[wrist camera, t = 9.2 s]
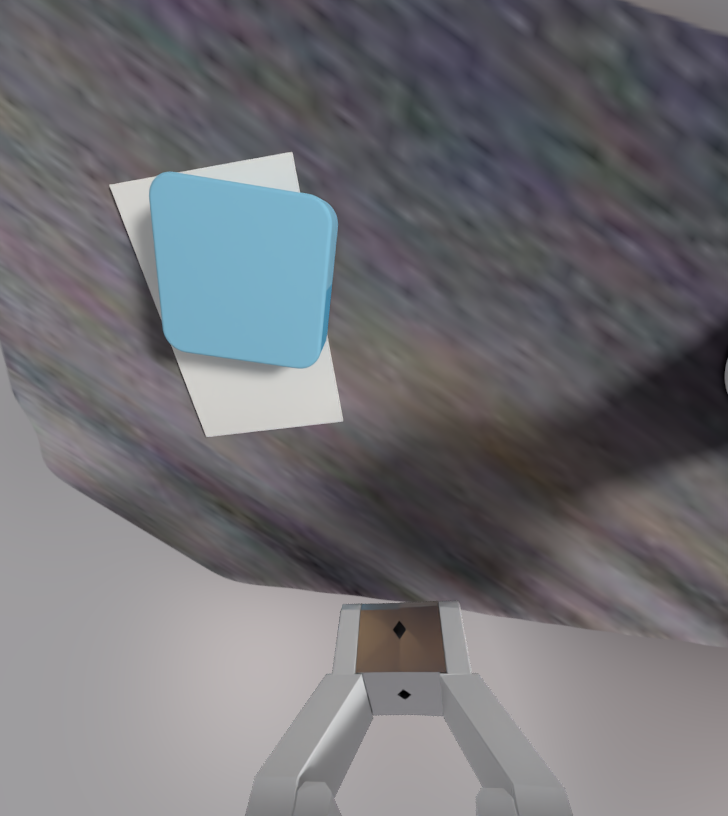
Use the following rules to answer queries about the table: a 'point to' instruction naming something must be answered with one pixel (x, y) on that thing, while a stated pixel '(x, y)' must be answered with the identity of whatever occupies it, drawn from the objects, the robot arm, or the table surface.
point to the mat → (228, 378)
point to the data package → (243, 269)
